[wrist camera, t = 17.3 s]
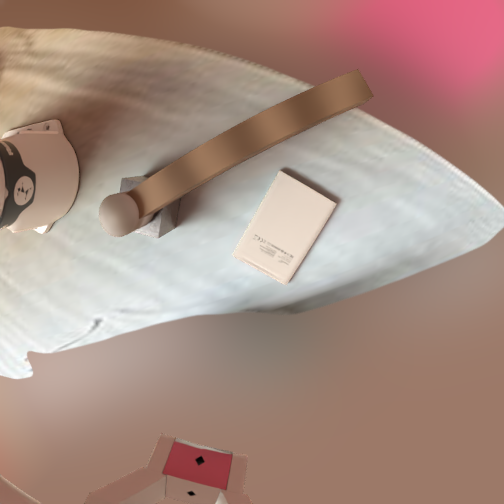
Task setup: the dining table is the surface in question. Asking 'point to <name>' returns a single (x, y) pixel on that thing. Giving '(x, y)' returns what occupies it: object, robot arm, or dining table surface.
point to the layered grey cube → (162, 218)
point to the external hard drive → (284, 228)
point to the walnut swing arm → (231, 151)
